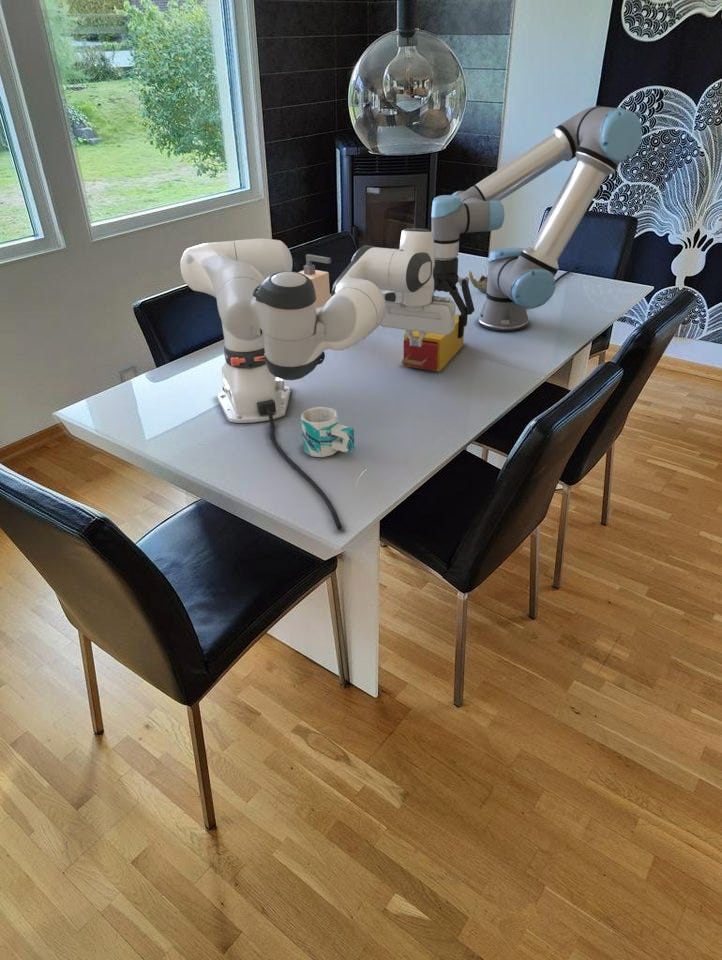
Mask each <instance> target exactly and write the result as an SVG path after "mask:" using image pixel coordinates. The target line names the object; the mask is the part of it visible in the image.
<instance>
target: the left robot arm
mask: <svg viewBox="0 0 722 960" xmlns="http://www.w3.org/2000/svg"><path fill="white" fill-rule="evenodd" d="M179 265H180V266H179V268H180V269H179V270H180V274H181V277H182V279H183V281H184V283H185V284H186V285H187V287H188V288H190V290H192V291H193V292H200V293H204V294H208V295H210V296H212V297H214V298H215V299H216V306H217V312H218V315H219V318H220V320H221V327H222V333H223V334H222V335H223V340H224V345H223V355H224V359H225V363H224V364H223V365H222V366H221V367H220V369H221V377H222V383H223V386H222V392H219V393H218V394H217V401H218V403H219V404H220V405H219V406H220V407H221V409H222V411H223V413H224V415H225V418H226V419H227V421H228V422H229V423H235V424H236V423H237V424H249V423H258V422H266V421H269V427H270V432H269V439H270V441H271V443H272V445H273V447H274V448H275V450H276V451H277V452H278V453H279V454H280V456H282V458H283V459H284V460H285V461H286V462H287V463H288V464H289V465H290V466H291V467H292V468H293V469H294V470H295V471H296V472H297V473H298V474H299V475H300V476H301V477H302V478H303V479H305V480H306V481H307V482H308V483H309V484H310V485H311V487H312V488H313V489H314V490H315V491H316V492H317V493H318V495H319V496H320V497H321V498H322V500H323V501H324V502H325V504H326V506H327V508H328V509H329V511H330V513H331V516H332V519H333V521H334V524H335V526H336V529H337V530H339V531H340V530H342V529H343V526H342V524H341V522H340V519H339V516H338V514H337V512H336V509H335V508H334V505H333V503H332V502H331V500H330V499H329V497H328V496H327V495H326V494H325V492H324V491H323V490H322V489H321V488H320V487H319V485H318V484H317V482H316V481H314V479H312V478H311V477H310V476H309V474H307V473H306V472H305V471H304V470H303V469H302V468H300V466H299V465H298V464H297V463H295V462H294V460H292V459H291V458H290V457H289V456H288V455H287V454H286V452H285V451H284V450H283V449H282V448H281V446H280V445H279V444H278V442H277V441H276V438H275V422H274V420H276V419H279V418H283V417H284V416H285V415H286V413H287V409H288V405H289V399H290V396H291V392H292V391H291V387H290V386H288V385H285V381H296V380H300V379H303V378H305V377H306V376H307V375H309V374H310V373H312V372H313V371H314V370H315V369H316V367H317V366H318V365H322V363H323V362H324V361H325V358H326V353H325V351H326V350H332V351H345V350H347V349H350V348H351V347H354V346H356V345H357V344H359V343H361V342H362V341H364V340H365V339H366V338H367V337H369V336H370V335H371V334H372V333H373V332H374V331H375V330H376V329H377V328H378V327H379V326H381V327H382V328H391V329H398V330H405V334H406V335H407V336H408V338H409V340H410V346H415V347H421V346H422V339H423V338H424V336H425V335H426V333H427V332H428V333H436V334H443V335H449V334H450V333H451V332H453V330H454V329H455V317H454V314H456V303H455V301H454V299H451V298H450V297H448V296H445V297H443V296H439V295H435V292H434V278H433V269H434V265H435V250H434V239H433V234H432V230H430V229H428V228H416V227H415V228H414V227H407V228H404V229H402V230H401V234H400V239H399V248H389V247H378V246H373V245H368V244H365V245H362V246H360V248H358V250H356V251H355V253H354V254H353V256H352V258H351V261H350V263H349V264H348V265H347V266H346V267H345V268H344V270H343V271H342V272H341V273H340V275H339V276H338V277H336V280H335V281H334V283H333V285H332V288H331V291H330V299H329V300H328V301H327V302H326V303H325V305H324V306H322V307H320V308H317V309H316V304H315V301H316V292H315V288H314V285H313V282H312V280H311V279H309V278H308V277H307V276H305V275H304V274H301V273H298V272H299V271H298V272H297V271H293V257H292V254H291V251H290V249H289V247H288V246H287V245H286V243H284V242H283V241H282V240H279V239H273V238H262V237H261V238H248V239H238V240H236V239H235V240H226V241H215V242H206V243H201V244H197V245H194V246H191V247H187V248H186V249H185V250H184V252H183V254H182V256H181V259H180V264H179ZM382 291H383V292H382ZM413 331H419V335H421V336H420V338H414V336H413V333H412V332H413ZM284 380H285V381H284Z"/></svg>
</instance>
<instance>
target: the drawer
mask: <svg viewBox="0 0 722 960" xmlns="http://www.w3.org/2000/svg"><path fill="white" fill-rule="evenodd" d="M437 343H438V342H430V341H423V340H422V346H421V347H415V346H410V340H407V339H405V340H404V339H403V358H402V359H401V364H403V366H404V367H407V366H410V367H409V368H414V367H417V368H416V369H420V368H423V369H422V370H427V369H430V370H429V371H433V370H436V369H437V352H438V344H437Z"/></svg>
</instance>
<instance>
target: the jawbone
mask: <svg viewBox="0 0 722 960" xmlns="http://www.w3.org/2000/svg"><path fill="white" fill-rule="evenodd" d="M473 275H474V274H473V271H472V270H468V276H469V277H468V278H469V281H470V283H471V284H472V285H473V287H474V288H476V289H477V291H479V292H480V293H487V278H488V274H487V275H486V276H485V275H484V274H482V275H481V277H479V279H478V280H477V279H476V278H474V276H473Z"/></svg>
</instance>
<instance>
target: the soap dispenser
mask: <svg viewBox="0 0 722 960" xmlns="http://www.w3.org/2000/svg"><path fill="white" fill-rule="evenodd" d="M305 262H306V263H305V265H303V270H300V271H298V273H301V274H304V275H305V276H307V277H308V278H309V279H311V280H312V282H313V285H314V288H315V292H316V301H315V304H316V309H317V308H320V307H322V306H324V305H325V303H326V302H327V301H328V300H329V299H330V298H331V290H330V289H331V288H330V273H329V271H325V270H324V271H323V270H318V269H316V265H315V264H313V263H312V262H317V263H321V264H326V265H327V264H328V265H329V264H332V258H331V257H327V256H322V255H315V254H309V253H307V254H305Z"/></svg>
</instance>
